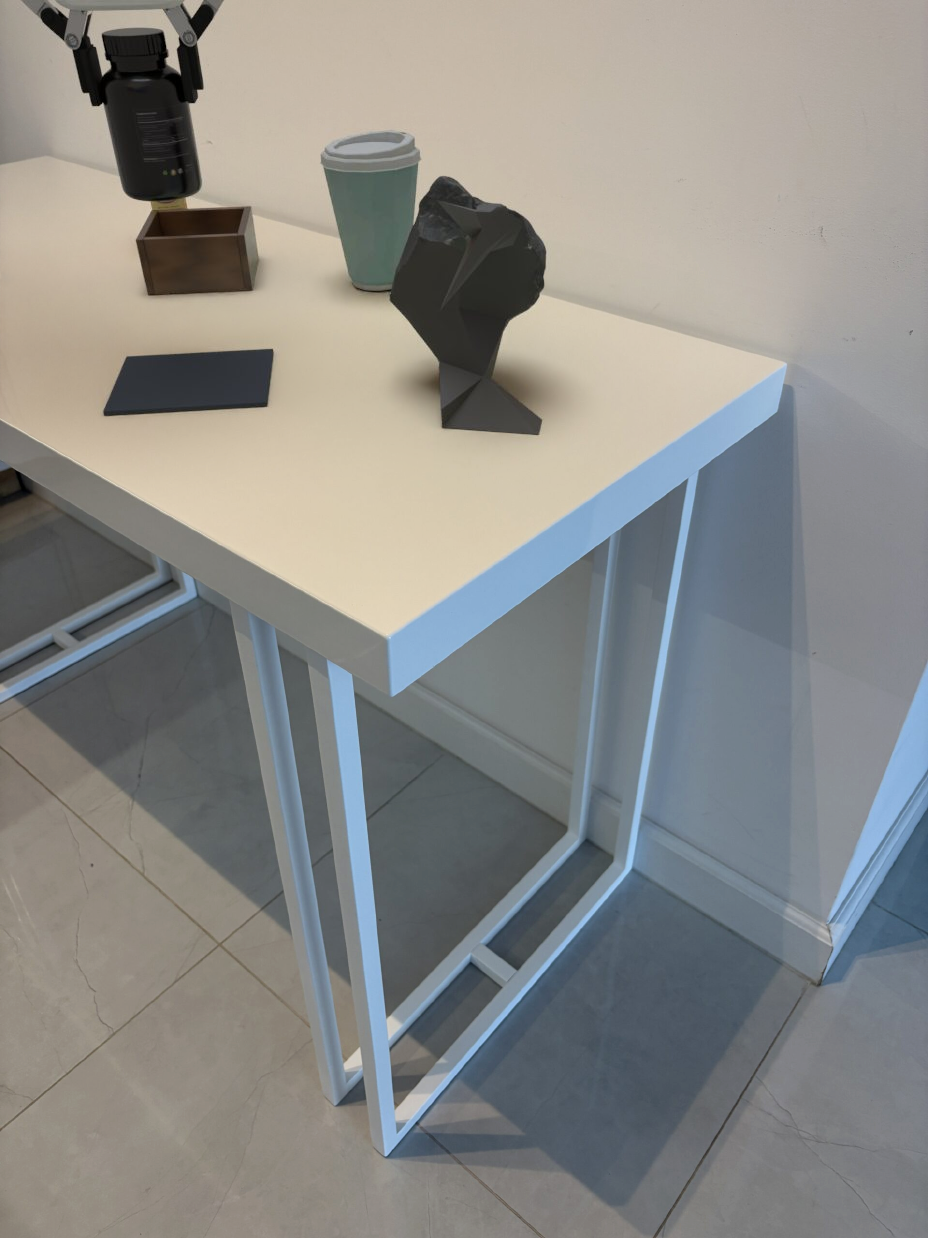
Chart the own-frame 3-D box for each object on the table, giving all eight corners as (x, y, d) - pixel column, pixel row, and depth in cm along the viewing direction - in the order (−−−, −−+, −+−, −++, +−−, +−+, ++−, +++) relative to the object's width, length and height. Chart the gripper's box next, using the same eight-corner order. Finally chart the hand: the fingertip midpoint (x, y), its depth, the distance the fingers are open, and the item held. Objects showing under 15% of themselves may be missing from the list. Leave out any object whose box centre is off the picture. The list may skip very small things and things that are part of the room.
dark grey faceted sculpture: (556, 360, 89) (567, 154, 78) (538, 434, 77) (549, 204, 66) (410, 351, 91) (400, 149, 80) (371, 422, 79) (354, 196, 68)
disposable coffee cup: (358, 304, 101) (346, 153, 92) (315, 277, 108) (300, 134, 99) (442, 285, 106) (438, 140, 96) (395, 260, 113) (388, 122, 103)
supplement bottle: (111, 189, 82) (75, 29, 75) (185, 178, 85) (157, 22, 78) (140, 207, 78) (104, 38, 70) (216, 194, 81) (190, 31, 73)
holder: (147, 294, 104) (135, 239, 101) (162, 261, 113) (151, 209, 110) (252, 290, 105) (244, 234, 102) (258, 257, 114) (251, 205, 111)
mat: (103, 415, 81) (102, 411, 81) (127, 360, 90) (126, 355, 90) (267, 406, 82) (266, 401, 82) (273, 352, 91) (273, 348, 91)
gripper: (-54, -185, 62) (26, 114, 73) (211, -186, 64) (250, 107, 75) (-22, -180, 68) (48, 96, 79) (220, -181, 70) (255, 90, 81)
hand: (145, 99), depth 77 cm, fingers closed on supplement bottle, 6 cm apart
